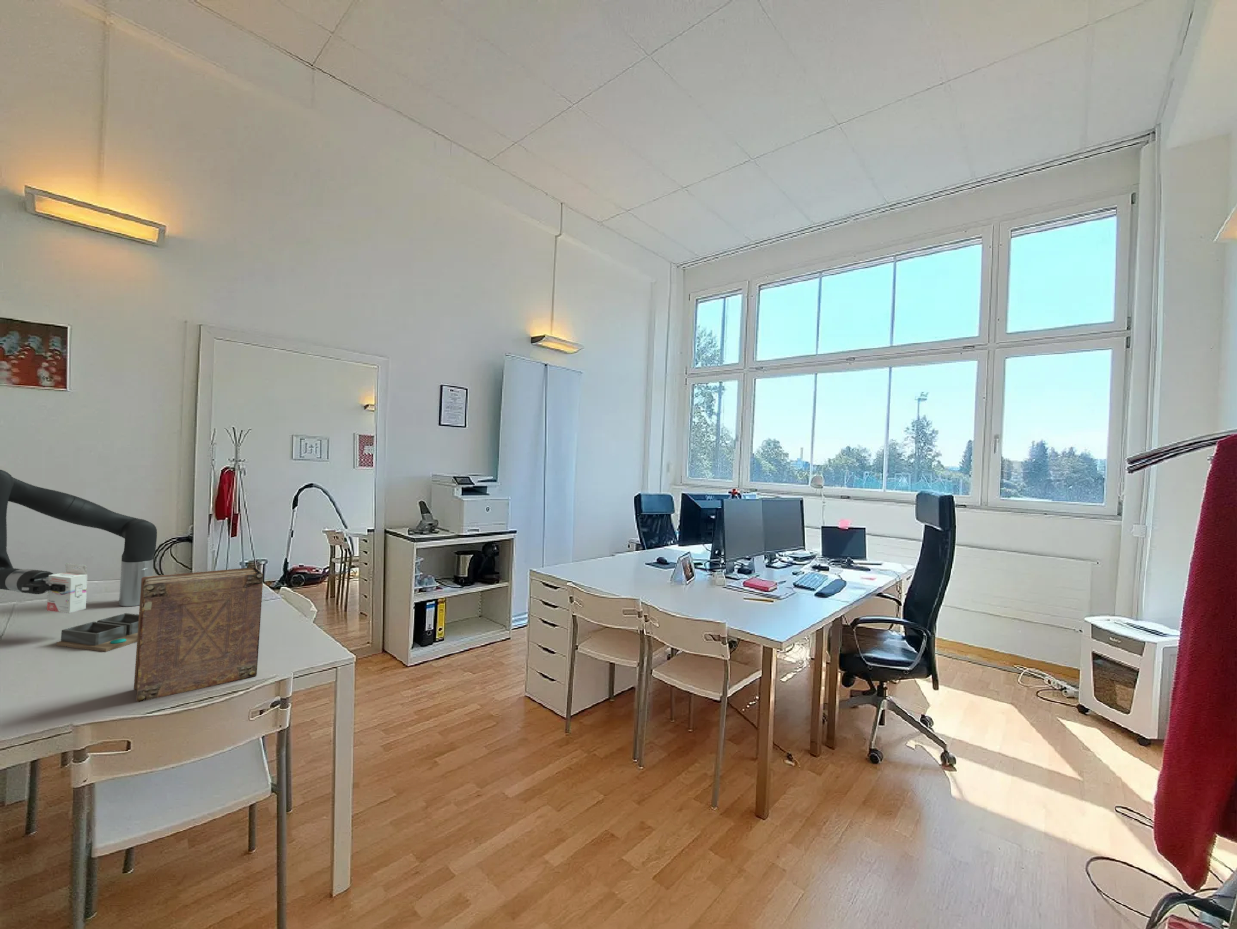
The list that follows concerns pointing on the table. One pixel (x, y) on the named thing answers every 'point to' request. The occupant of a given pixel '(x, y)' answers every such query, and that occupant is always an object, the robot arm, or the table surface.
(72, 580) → the ink cartridge box
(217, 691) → the table surface
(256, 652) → the book
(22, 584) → the robot arm
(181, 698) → the table surface
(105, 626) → the socket board
